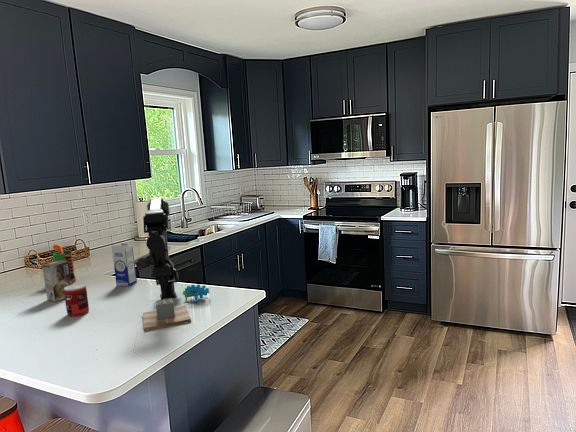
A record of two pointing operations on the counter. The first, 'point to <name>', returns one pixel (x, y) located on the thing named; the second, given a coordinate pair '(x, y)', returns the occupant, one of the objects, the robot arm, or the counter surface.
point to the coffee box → (56, 279)
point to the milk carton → (124, 265)
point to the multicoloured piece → (64, 259)
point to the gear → (195, 292)
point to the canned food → (76, 300)
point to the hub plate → (166, 319)
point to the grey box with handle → (165, 308)
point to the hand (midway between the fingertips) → (162, 287)
